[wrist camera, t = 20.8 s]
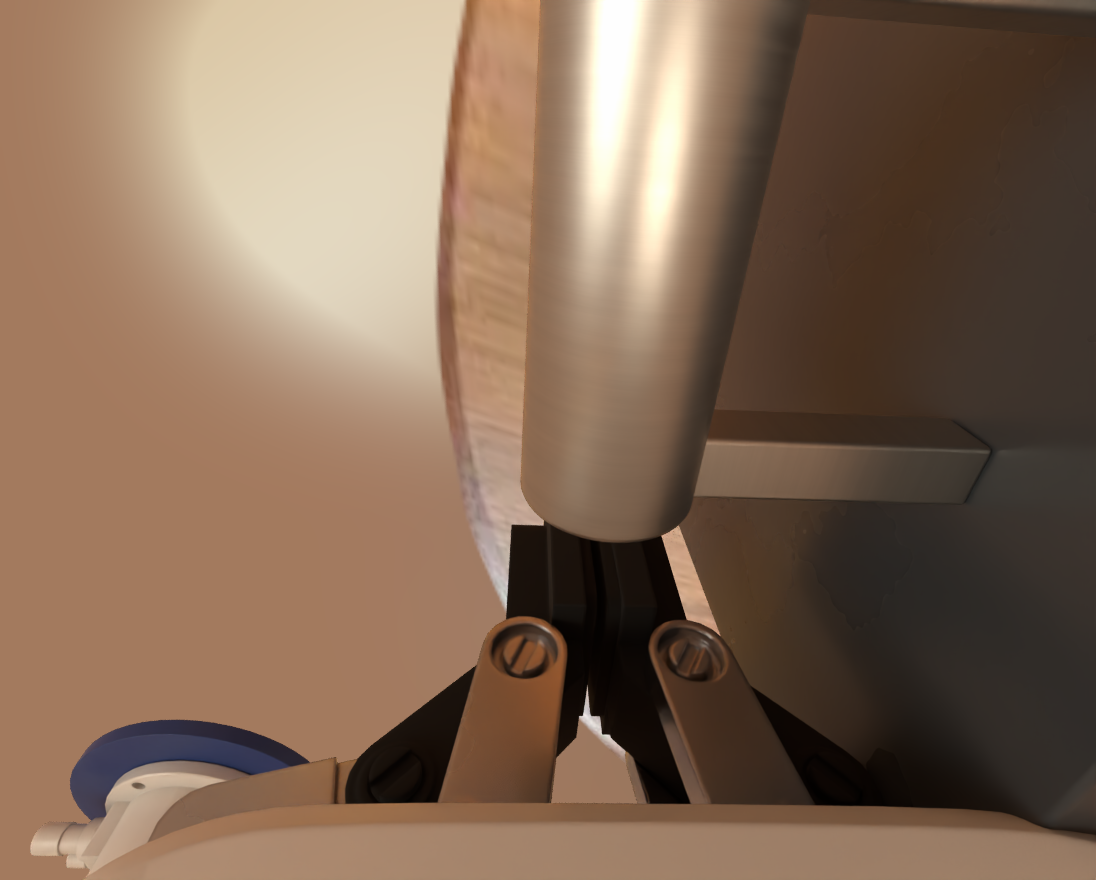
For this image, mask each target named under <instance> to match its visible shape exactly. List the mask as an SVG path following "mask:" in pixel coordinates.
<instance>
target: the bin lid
mask: <svg viewBox="0 0 1096 880" xmlns="http://www.w3.org/2000/svg"><path fill="white" fill-rule="evenodd" d="M521 489H522V492H523V495H524V497H525V499H526V501H527V502H528V504H529V506H530V507H531V508H532V509H533V511H534V512H535V513H536V514H537V515H538V516H540V517H541V518H542V519H543V520H545V521H546V522H548V523H549V524H551V525H552V526H554V527H556V528H558V529H560V530H562V531H564V532H567V533H569V534H572V535H575V536H578V537H581V538H585V539H590V540H594V541H601V542H611V543H630V542H639V541H644V540H649V539H653V538H656V537H659V536H662V535H664V534H666V533H668V532H670V531H671V530H673V529H674V528H676V527H677V526H678V525H679V527H680V530H681V532H682V535H683V538H684V540H685V543H686V545H687V548H688V551H689V553H690V556H691V559H692V561H693V564H694V567H695V569H696V572H697V574H698V577H699V580H700V582H701V585H702V588H703V590H704V593H705V596H706V598H707V601H708V604H709V606H710V609H711V611H712V614H713V617H714V619H715V622H716V625H717V627H718V630H719V633H720V635H721V637H722V638H723V639H724V641H725V642H726V643H727V645H728V646H729V648H730V649H731V651H732V653H733V655H734V656H735V658H736V660H737V662H738V664H739V666H740V667H741V669H742V671H743V673H744V675H745V677H746V678H747V680H748V682H749V684H750V685H751V686H752V687H753V688H755V689H756V690H758V691H759V692H761V693H762V694H764V695H765V696H767V697H768V698H769V699H771V700H772V701H774V702H775V703H777V704H778V705H780V706H781V707H783V708H784V709H786V710H787V711H788V712H790V713H791V714H793V715H794V716H796V717H797V718H799V719H800V720H802V721H803V722H804V723H806V724H807V725H809V726H810V727H812V728H813V729H815V730H816V731H818V732H819V733H820V734H822V735H823V736H825V737H826V738H828V739H829V740H831V741H832V742H834V743H835V744H836V745H838V746H839V747H841V748H842V749H844V750H845V751H847V752H848V753H849V754H850V755H852V756H853V757H854V758H855V759H856V760H858V761H859V762H860V763H861V764H862V765H863V766H864V768H865V769H866V770H867V771H868V773H869V774H870V775H871V776H872V777H873V779H874V781H875V783H876V785H877V787H878V789H879V791H880V793H881V797H882V802H883V806H884V807H914V808H946V809H969V810H981V811H993V812H1002V813H1006V814H1010V815H1013V816H1016V817H1019V818H1021V819H1024V820H1026V821H1029V822H1031V823H1033V824H1035V825H1038V826H1041V827H1043V828H1047V829H1051V830H1065V831H1072V832H1079V833H1086V834H1093V835H1096V0H540V21H539V46H538V70H537V94H536V118H535V143H534V167H533V191H532V216H531V240H530V264H529V288H528V313H527V337H526V361H525V386H524V410H523V434H522V459H521Z"/></svg>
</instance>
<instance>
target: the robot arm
mask: <svg viewBox="0 0 1096 880" xmlns="http://www.w3.org/2000/svg"><path fill="white" fill-rule="evenodd" d="M587 685H588V696H589V707H590V714H591V716H600V719H601V728H602V734H608V735H611V738H612V739H613V740H614V741H615V742H616V743H617V744H618V745H620V746H621V747H622V748H623V749H624V750H625V751H626V753H625V757H626V765H627V769H628V772H629V776H630V779H631V783H632V786H633V790H634V793H635V797H636V800H637V804H612V803H611V804H610V803H605V804H603V803H601V804H600V803H551V799H552V790H553V782H554V773H555V765H556V758H557V756H559V754H560V753H561V752H562V751H563V750H564V749H565V748H566V747H567V746H568V745H569V744H570V743H571V742H572V741H573V740H574V739H575V738H576V735H577V727H578V721H579V716H583V712H584V705H585V698H586V691H587ZM105 808H106V813H107V815H106V817H99V818H94V819H93V820H92V821H90V822H89V823H88V824H77V823H76V822H48V823H45V824H44V825H43V826H42V827H41V828H40V829H39V830H38V831H37V833H36V834H35V836H34V838H33V841H32V843H31V850H30V852H31V854H32V855H35V856H63V855H65V854H69V855H68V857H67V861H66V866H67V867H68V868H89V870H90V872H89V873H88V875H87V877H85V878H84V879H83V880H1096V835H1093V834H1086V833H1079V832H1072V831H1065V830H1051V829H1047V828H1043V827H1041V826H1038V825H1035V824H1033V823H1031V822H1029V821H1026V820H1024V819H1021V818H1019V817H1016V816H1013V815H1010V814H1006V813H1002V812H993V811H981V810H969V809H946V808H914V807H884V806H883V802H882V797H881V793H880V791H879V789H878V787H877V785H876V783H875V781H874V779H873V777H872V776H871V775H870V774H869V773H868V771H867V770H866V769H865V768H864V766H863V765H862V764H861V763H860V762H859V761H858V760H856V759H855V758H854V757H853V756H852V755H850V754H849V753H848V752H847V751H845V750H844V749H842V748H841V747H839V746H838V745H836V744H835V743H834V742H832V741H831V740H829V739H828V738H826V737H825V736H823V735H822V734H820V733H819V732H818V731H816V730H815V729H813V728H812V727H810V726H809V725H807V724H806V723H804V722H803V721H802V720H800V719H799V718H797V717H796V716H794V715H793V714H791V713H790V712H788V711H787V710H786V709H784V708H783V707H781V706H780V705H778V704H777V703H775V702H774V701H772V700H771V699H769V698H768V697H767V696H765V695H764V694H762V693H761V692H759V691H758V690H756V689H755V688H753V687H752V686H751V685H750V684H749V682H748V680H747V678H746V677H745V675H744V673H743V671H742V669H741V667H740V666H739V664H738V662H737V660H736V658H735V656H734V655H733V653H732V651H731V649H730V648H729V646H728V645H727V643H726V642H725V641H724V639H723V638H722V637H721V636H719V635H718V634H717V633H716V632H715V631H713V630H712V629H710V628H708V627H706V626H704V625H702V624H700V623H696V622H693V621H689V620H687V619H686V616H685V613H684V610H683V606H682V603H681V600H680V596H679V593H678V590H677V586H676V583H675V580H674V576H673V573H672V570H671V566H670V563H669V560H668V556H667V553H666V550H665V547H664V543H663V540H662V537H661V536H659V537H656V538H653V539H649V540H644V541H639V542H630V543H611V542H601V541H594V540H590V539H585V538H581V537H578V536H575V535H572V534H569V533H567V532H564V531H562V530H560V529H558V528H556V527H554V526H552V525H551V524H549V523H548V522H546V521H545V520H544V526H537V525H512V528H511V544H510V562H509V579H508V596H507V613H506V620H505V621H503V622H501V623H499V624H497V625H496V626H495V627H494V628H493V629H492V630H491V631H490V632H489V633H488V634H487V636H486V638H485V640H484V642H483V645H482V648H481V652H480V656H479V659H478V662H477V665H476V666H475V667H473V668H472V669H471V670H469V671H468V672H467V673H465V674H464V675H463V676H461V677H460V678H459V679H458V680H456V681H455V682H454V683H452V684H451V685H450V686H448V687H447V688H446V689H445V690H443V691H442V692H440V693H439V694H438V695H437V696H435V697H434V698H433V699H431V700H430V701H429V702H427V703H426V704H425V705H423V706H422V707H421V708H420V709H418V710H417V711H416V712H414V713H413V714H412V715H410V716H409V717H408V718H407V719H405V720H404V721H403V722H402V723H400V724H399V725H398V726H396V727H395V728H394V729H392V730H391V731H389V732H388V733H387V734H386V735H384V736H383V737H382V738H380V739H379V740H378V741H376V742H375V743H374V744H373V745H371V746H370V747H369V748H368V749H367V750H366V751H365V752H364V753H363V754H362V755H361V756H360V757H359V758H358V759H355V760H350V761H345V762H341V763H338V762H337V758H336V757H334V758H329V759H325V760H321V761H316V762H311V763H306V764H302V765H297V766H292V767H288V768H283V769H279V770H274V771H269V772H265V773H260V774H256V775H249V774H247V773H244V772H241V771H239V770H236V769H233V768H230V767H226V766H222V765H218V764H213V763H207V762H201V761H187V760H173V761H161V762H155V763H149V764H146V765H143V766H140V767H137V768H134V769H132V770H131V771H129V772H127V773H125V774H124V775H123V776H122V777H120V778H119V779H118V780H117V782H116V783H115V785H114V786H113V788H112V790H111V791H110V793H109V794H108V796H107V799H106V803H105Z"/></svg>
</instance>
